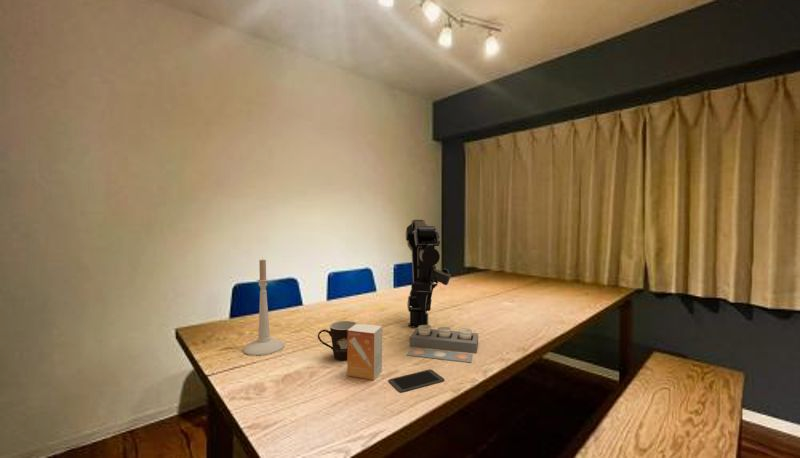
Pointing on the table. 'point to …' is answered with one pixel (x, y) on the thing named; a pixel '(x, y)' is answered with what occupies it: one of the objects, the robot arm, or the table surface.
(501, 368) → the table surface
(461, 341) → the button panel
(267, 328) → the candlestick
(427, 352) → the pattern card
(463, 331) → the right button
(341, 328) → the coffee mug
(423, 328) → the left button
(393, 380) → the cell phone
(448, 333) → the middle button
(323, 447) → the table surface
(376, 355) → the small box
